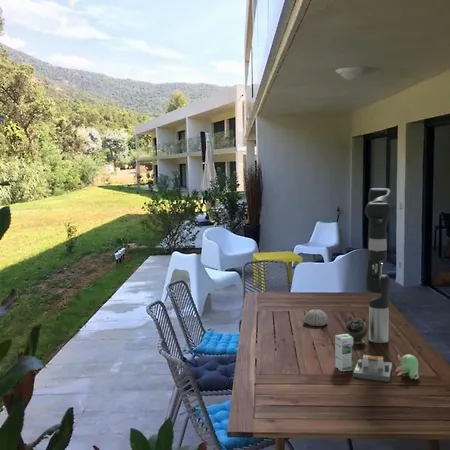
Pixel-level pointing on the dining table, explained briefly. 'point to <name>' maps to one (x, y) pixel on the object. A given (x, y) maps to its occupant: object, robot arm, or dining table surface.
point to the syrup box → (344, 352)
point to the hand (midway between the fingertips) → (377, 287)
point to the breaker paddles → (380, 359)
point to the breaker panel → (373, 370)
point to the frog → (408, 366)
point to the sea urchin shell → (316, 318)
